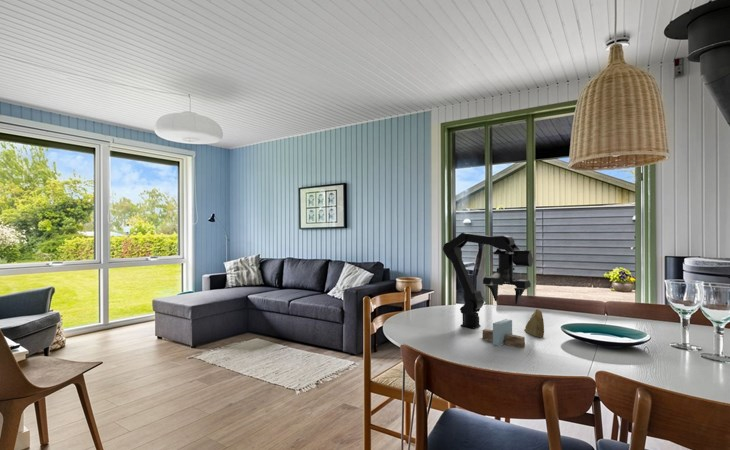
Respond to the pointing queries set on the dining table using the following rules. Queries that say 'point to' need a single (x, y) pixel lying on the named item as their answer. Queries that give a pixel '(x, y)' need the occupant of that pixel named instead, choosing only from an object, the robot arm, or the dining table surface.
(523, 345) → the walnut rail
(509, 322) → the blue-grey rectangular slab
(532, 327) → the rock
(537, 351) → the dining table surface
